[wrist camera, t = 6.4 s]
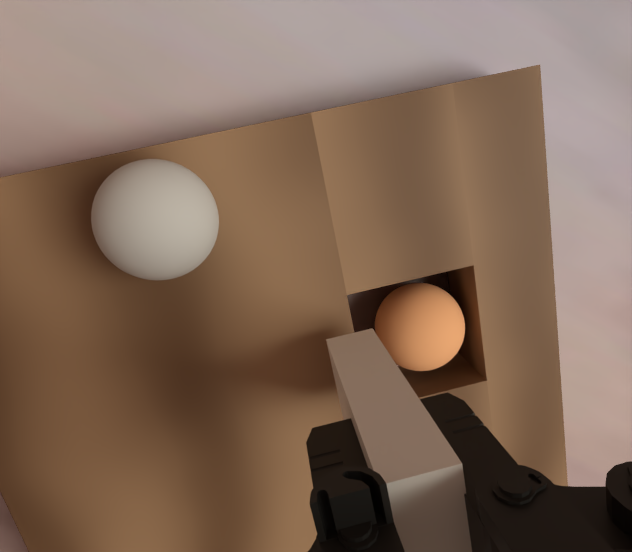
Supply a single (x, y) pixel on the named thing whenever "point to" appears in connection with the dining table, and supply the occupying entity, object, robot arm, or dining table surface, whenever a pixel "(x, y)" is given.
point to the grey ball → (155, 219)
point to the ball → (420, 326)
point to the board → (269, 317)
